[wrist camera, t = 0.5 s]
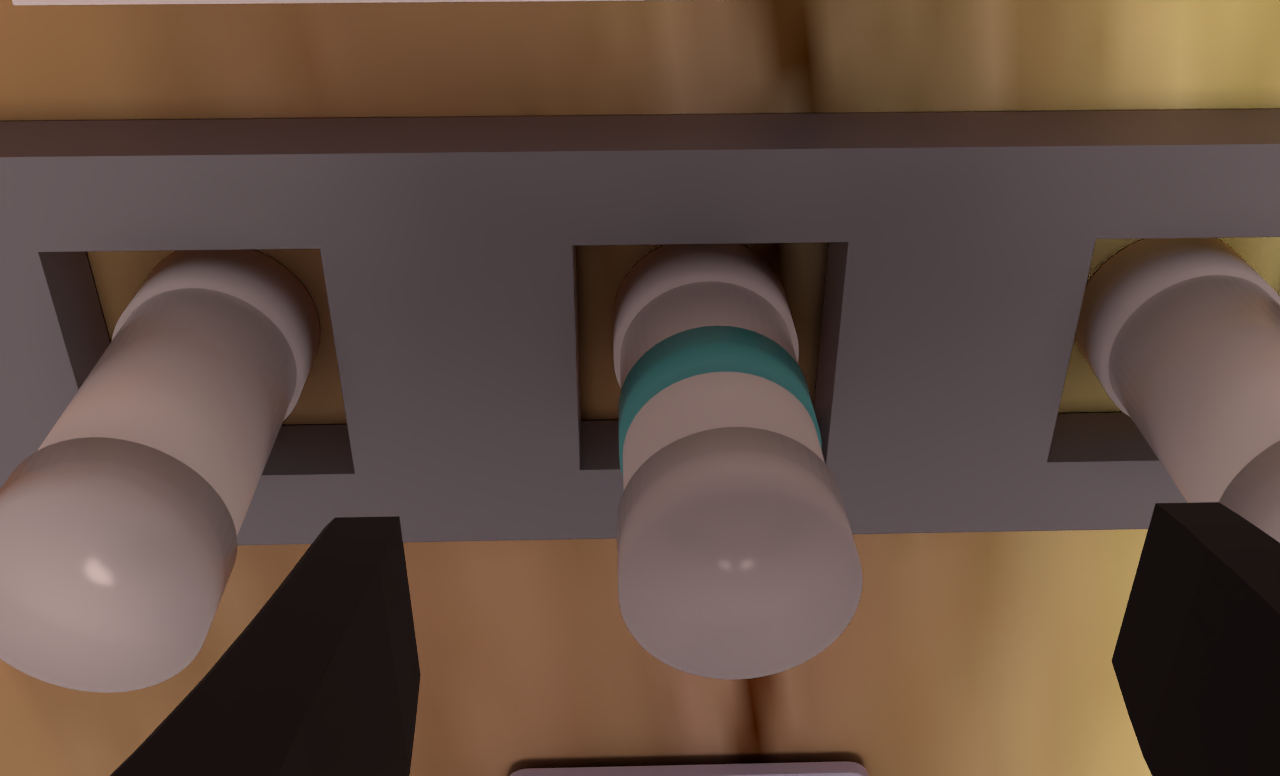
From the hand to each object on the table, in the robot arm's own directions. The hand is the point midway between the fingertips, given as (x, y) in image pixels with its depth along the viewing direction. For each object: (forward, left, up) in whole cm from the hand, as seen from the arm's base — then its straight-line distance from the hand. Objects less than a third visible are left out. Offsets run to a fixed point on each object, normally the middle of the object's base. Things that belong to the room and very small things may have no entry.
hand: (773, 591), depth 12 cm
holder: (-2, 0, -9) cm, 10 cm away
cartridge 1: (-2, +8, -9) cm, 13 cm away
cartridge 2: (-2, -8, -9) cm, 13 cm away
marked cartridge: (-2, 0, -9) cm, 10 cm away
